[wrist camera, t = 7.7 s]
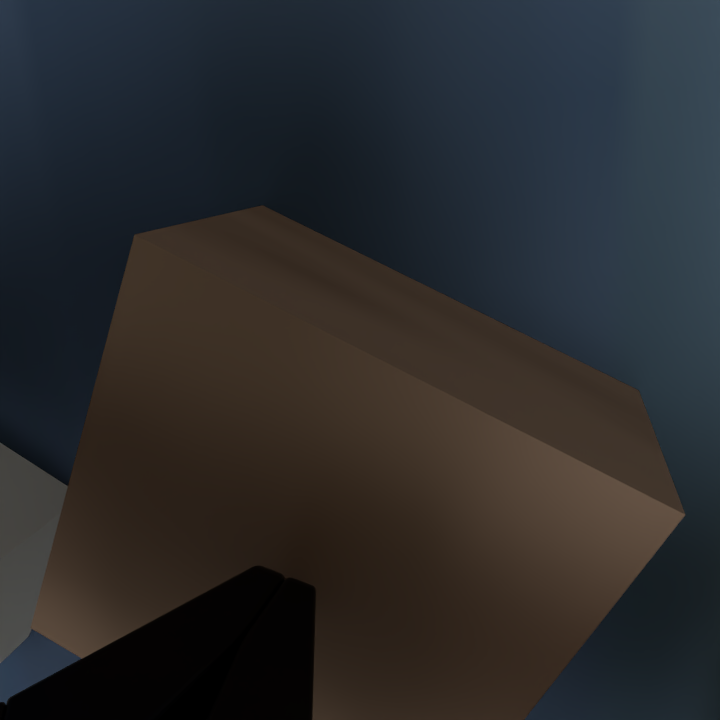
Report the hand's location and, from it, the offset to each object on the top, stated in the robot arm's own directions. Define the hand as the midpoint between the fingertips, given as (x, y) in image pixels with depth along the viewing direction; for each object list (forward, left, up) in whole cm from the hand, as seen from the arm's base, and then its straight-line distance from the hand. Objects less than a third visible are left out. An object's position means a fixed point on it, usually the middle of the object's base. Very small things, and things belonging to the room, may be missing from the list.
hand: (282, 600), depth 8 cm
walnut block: (0, 0, -4) cm, 4 cm away
